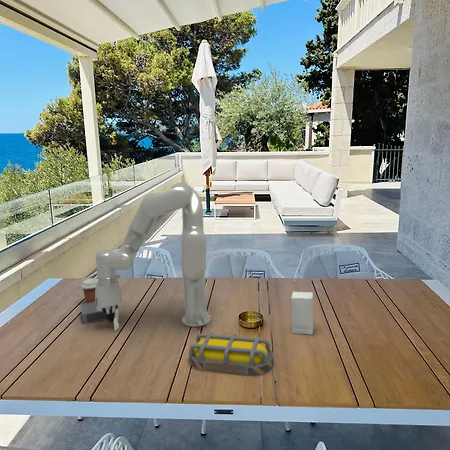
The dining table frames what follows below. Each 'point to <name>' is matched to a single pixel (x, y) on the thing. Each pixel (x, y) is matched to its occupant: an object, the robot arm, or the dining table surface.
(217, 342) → the cage light
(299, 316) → the skincare box
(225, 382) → the dining table surface
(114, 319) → the light grey flat bar
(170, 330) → the dining table surface
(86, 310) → the gray button box
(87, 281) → the coffee cup
